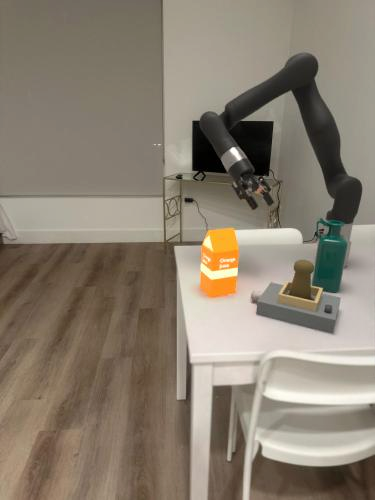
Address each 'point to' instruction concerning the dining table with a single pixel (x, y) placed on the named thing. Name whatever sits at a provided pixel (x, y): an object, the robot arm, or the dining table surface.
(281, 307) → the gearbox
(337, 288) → the pitcher
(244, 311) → the dining table surface
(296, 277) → the cork
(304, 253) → the dining table surface
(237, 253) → the orange juice
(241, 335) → the dining table surface
